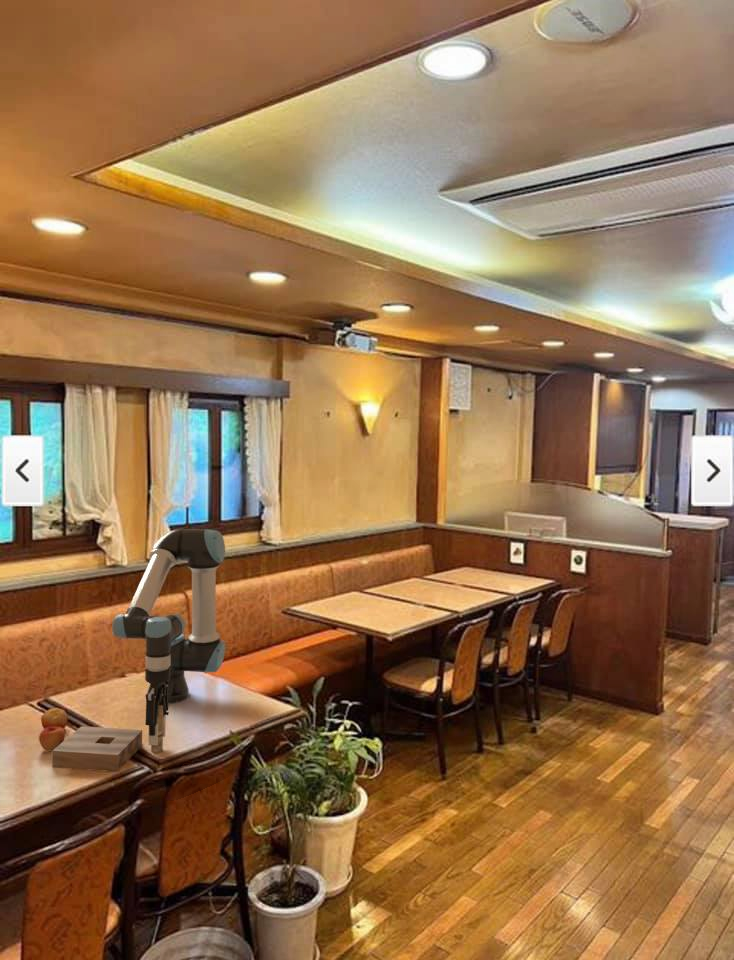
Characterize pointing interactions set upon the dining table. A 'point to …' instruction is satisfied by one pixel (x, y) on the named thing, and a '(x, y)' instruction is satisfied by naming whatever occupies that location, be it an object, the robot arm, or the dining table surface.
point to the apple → (51, 737)
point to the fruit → (54, 718)
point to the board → (97, 748)
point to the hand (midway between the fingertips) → (157, 740)
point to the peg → (159, 732)
